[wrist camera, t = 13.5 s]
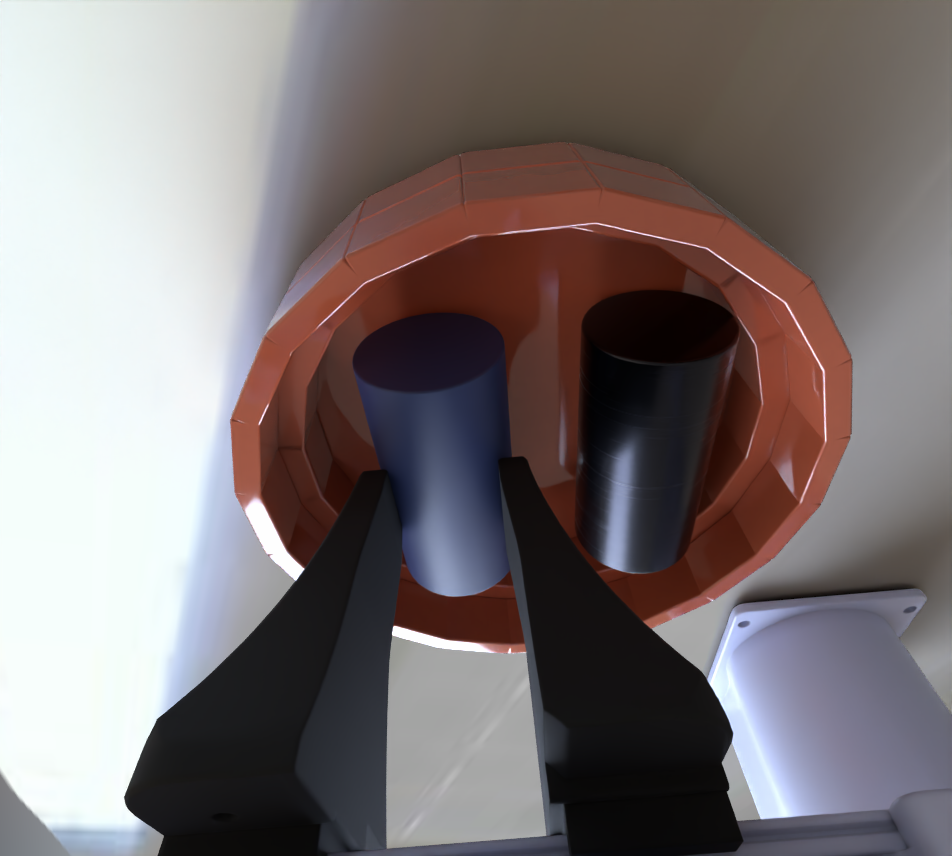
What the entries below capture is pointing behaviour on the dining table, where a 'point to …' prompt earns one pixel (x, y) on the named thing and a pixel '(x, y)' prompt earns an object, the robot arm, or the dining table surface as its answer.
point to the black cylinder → (648, 422)
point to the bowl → (544, 363)
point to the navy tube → (441, 443)
